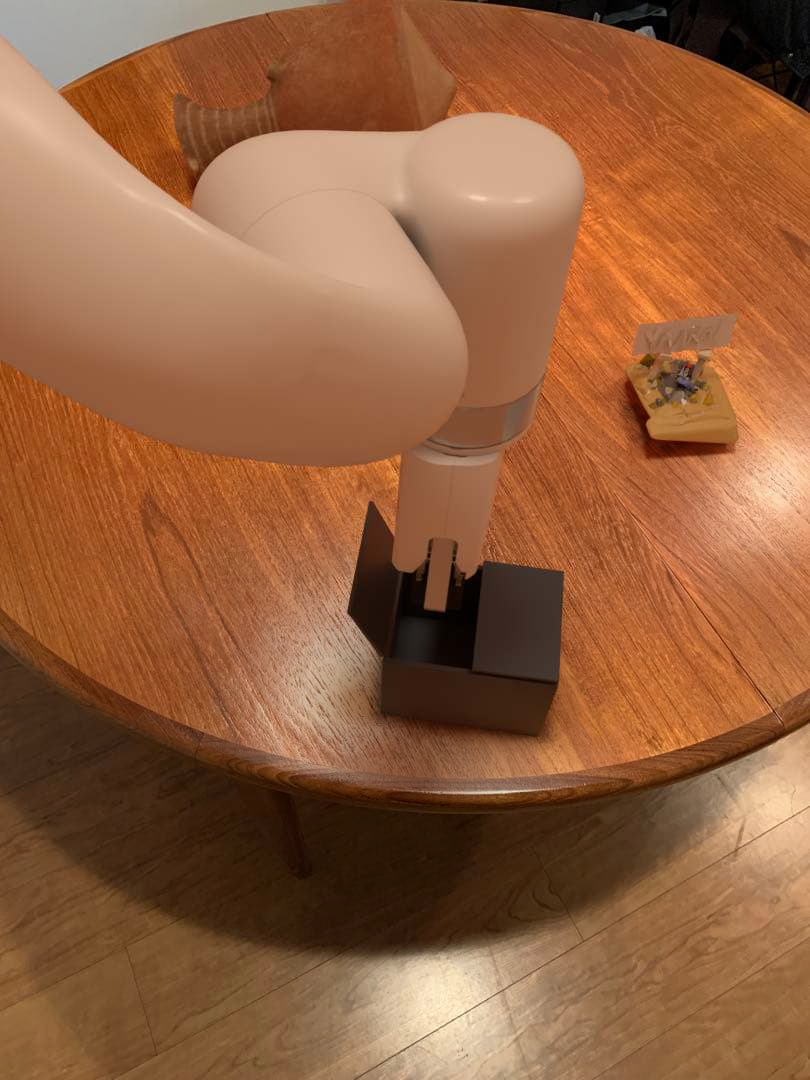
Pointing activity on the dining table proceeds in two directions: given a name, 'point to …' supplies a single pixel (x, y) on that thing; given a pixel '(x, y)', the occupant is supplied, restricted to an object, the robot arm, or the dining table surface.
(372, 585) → the flap
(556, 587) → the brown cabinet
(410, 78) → the jug
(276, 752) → the dining table surface
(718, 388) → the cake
